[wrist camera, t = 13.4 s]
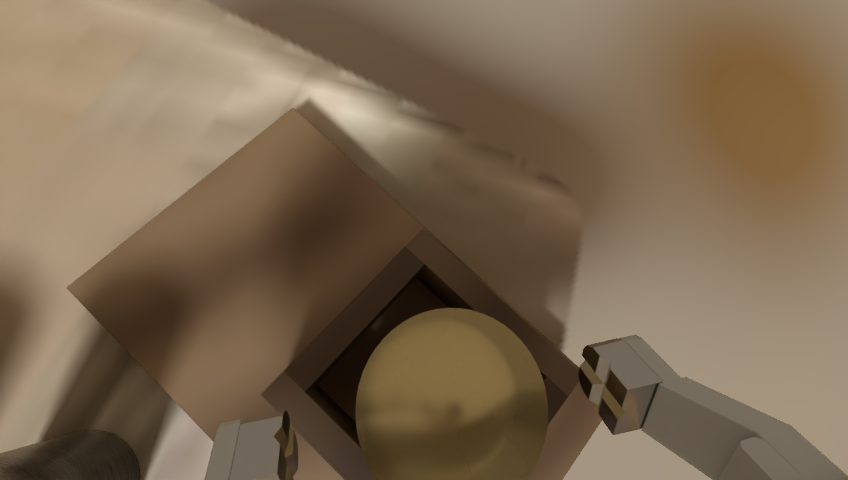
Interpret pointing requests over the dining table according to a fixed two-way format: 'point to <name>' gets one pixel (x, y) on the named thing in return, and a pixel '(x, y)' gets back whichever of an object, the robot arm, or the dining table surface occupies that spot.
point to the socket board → (298, 300)
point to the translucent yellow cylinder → (451, 401)
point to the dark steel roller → (72, 459)
